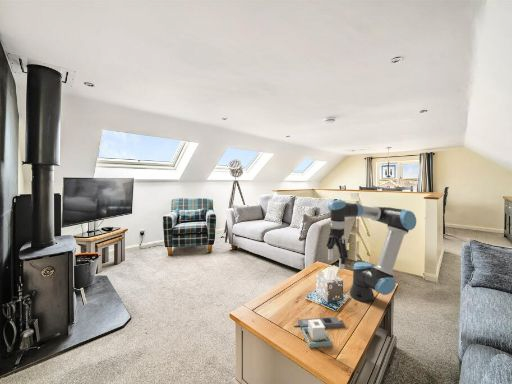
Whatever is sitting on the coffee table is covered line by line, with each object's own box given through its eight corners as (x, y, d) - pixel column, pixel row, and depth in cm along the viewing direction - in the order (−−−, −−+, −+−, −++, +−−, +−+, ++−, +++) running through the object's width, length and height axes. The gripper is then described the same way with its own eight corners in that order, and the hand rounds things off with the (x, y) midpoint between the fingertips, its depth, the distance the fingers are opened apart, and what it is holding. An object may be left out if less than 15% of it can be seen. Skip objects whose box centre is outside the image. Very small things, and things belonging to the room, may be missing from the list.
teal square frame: (321, 331, 117) (322, 326, 117) (331, 347, 106) (331, 341, 106) (301, 333, 116) (301, 327, 116) (309, 349, 105) (309, 343, 105)
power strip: (339, 321, 125) (339, 315, 125) (343, 328, 120) (344, 321, 120) (292, 325, 122) (292, 318, 122) (295, 331, 117) (295, 325, 117)
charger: (319, 334, 114) (319, 318, 114) (324, 343, 108) (325, 327, 108) (307, 335, 114) (308, 319, 113) (312, 344, 108) (312, 328, 107)
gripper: (321, 223, 137) (320, 256, 139) (342, 233, 113) (340, 274, 114) (333, 223, 138) (332, 256, 140) (355, 233, 114) (354, 273, 115)
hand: (335, 264), depth 127 cm, fingers open, 13 cm apart
